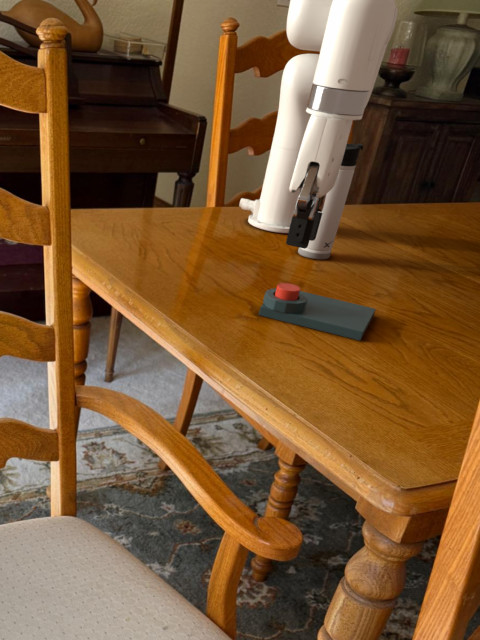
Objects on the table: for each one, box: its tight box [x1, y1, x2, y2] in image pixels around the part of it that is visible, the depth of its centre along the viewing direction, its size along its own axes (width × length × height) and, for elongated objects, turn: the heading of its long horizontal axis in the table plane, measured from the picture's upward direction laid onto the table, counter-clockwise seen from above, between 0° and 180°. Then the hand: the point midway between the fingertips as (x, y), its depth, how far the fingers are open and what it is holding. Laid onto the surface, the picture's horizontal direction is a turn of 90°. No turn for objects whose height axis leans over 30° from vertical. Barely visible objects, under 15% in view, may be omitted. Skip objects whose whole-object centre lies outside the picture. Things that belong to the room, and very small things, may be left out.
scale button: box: [275, 282, 301, 301], centre depth 114 cm, size 4×4×2 cm
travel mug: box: [297, 143, 364, 261], centre depth 137 cm, size 6×7×20 cm
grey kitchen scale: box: [258, 287, 376, 341], centre depth 115 cm, size 16×12×3 cm
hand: (300, 241), depth 109 cm, fingers open, 4 cm apart
